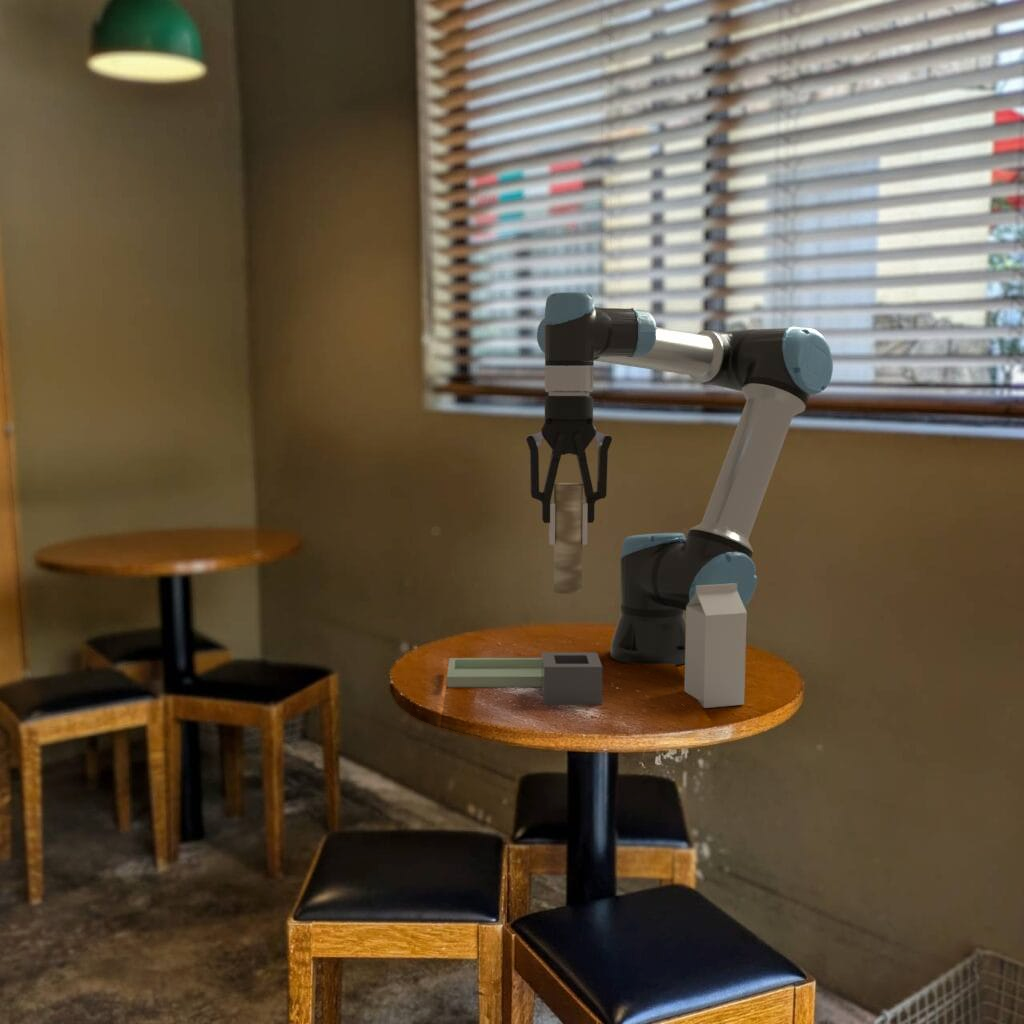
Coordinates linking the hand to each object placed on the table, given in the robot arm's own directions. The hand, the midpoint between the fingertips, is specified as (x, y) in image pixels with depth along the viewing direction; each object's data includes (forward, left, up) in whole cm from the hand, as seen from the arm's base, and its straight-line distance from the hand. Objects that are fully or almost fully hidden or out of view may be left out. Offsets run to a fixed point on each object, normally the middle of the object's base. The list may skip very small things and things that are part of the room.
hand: (568, 543), depth 173 cm
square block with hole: (-1, +1, -26) cm, 26 cm away
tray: (+10, -11, -26) cm, 30 cm away
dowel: (0, 0, -8) cm, 8 cm away
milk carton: (-24, 0, -26) cm, 35 cm away
